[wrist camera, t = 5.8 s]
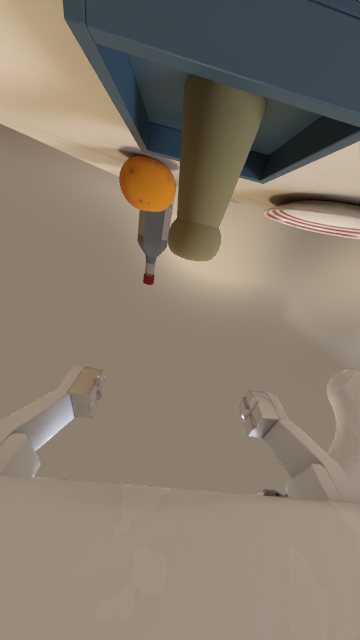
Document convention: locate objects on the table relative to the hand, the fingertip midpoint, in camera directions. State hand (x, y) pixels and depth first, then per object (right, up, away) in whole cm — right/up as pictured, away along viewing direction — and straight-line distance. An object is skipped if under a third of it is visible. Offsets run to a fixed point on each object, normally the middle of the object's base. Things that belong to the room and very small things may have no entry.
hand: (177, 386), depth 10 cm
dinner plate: (+33, +27, +27) cm, 51 cm away
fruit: (-5, +33, +21) cm, 40 cm away
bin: (+3, +20, +3) cm, 20 cm away
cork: (+3, +20, +3) cm, 20 cm away
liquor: (-6, +43, +38) cm, 58 cm away
